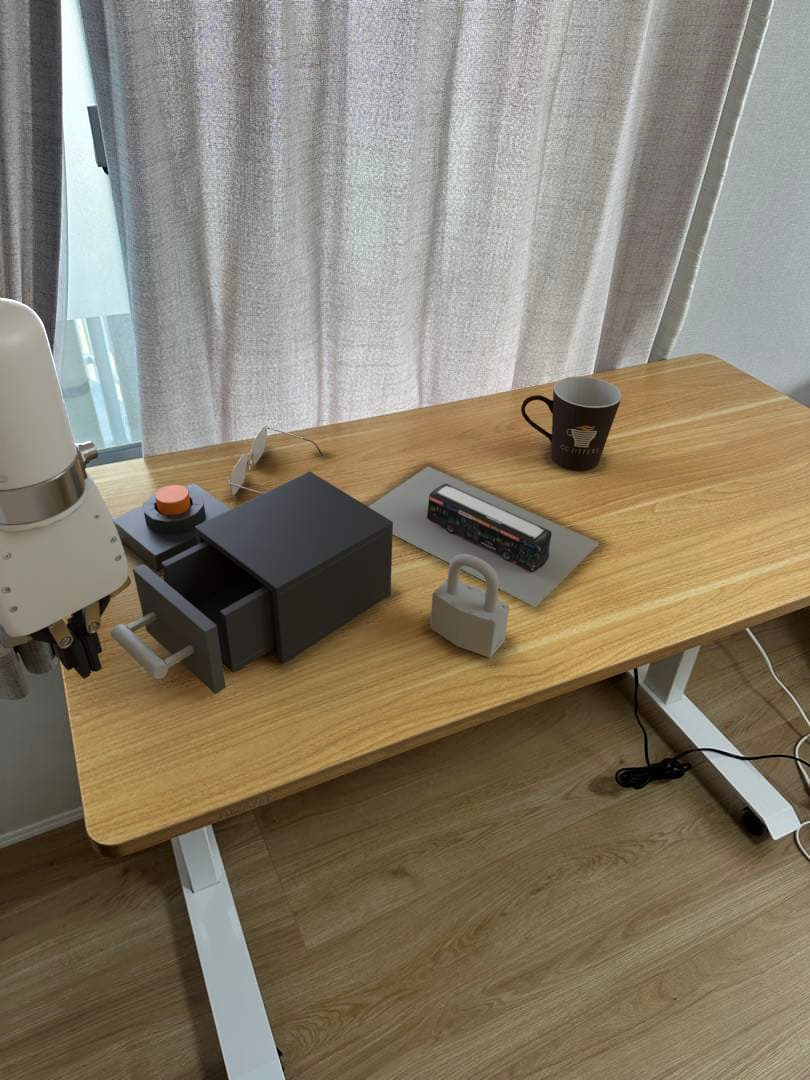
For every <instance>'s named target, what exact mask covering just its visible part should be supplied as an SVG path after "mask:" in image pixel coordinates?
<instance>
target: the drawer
mask: <svg viewBox="0 0 810 1080" xmlns="http://www.w3.org/2000/svg"><path fill="white" fill-rule="evenodd" d="M161 565H162V570H161V571H162V573H163V574H162V575H163V578H161V577H160V576H159V575H158V574H156V573H155V572H154V570H152V569H151V568H149V566H147V565H146V564H145V563H142V564H141V565H139V566H137V567H135V568H133V569H132V573H133V577H134V582H135V586H136V590H137V595H138V599H139V604H140V609H141V613H142V617H140V618H138V619H136V620H134V621H132V622H131V623H129V624H126V625H125V624H124V623H120V624H115V626H114V627H112V629H111V632H110V636H111V637H112V638H113V640H114V641H116V643H118V644H119V645H120V646H121V647H122V648H123V649H124V650H125V651H126V652H127V653H128V654H129V655H130V656H131V658H132V659H134V660H135V661H136V662H137V663H138V664H139V665H140V666H141V667H142V668H143V669H144V670H145V671H147V673H148V674H149V675H150V676H151V677H153V679H155V680H160V679H163V678H164V677H165V676H166V675H167V674H168V672H169V668H171V667H173V666H174V665H176V664H178V663H180V664H181V665H182V666H183V667H185V668H186V669H187V670H188V671H189V672H190V673H191V674H192V675H193V676H194V677H195V678H196V679H198V680H199V681H200V682H201V683H202V684H203V685H204V686H205V687H206V688H207V689H208V690H209V691H210V692H211V693H213V694H214V695H217V694H219V693H220V692H222V691H224V690H225V689H226V688H227V686H226V680H225V672H224V667H225V668H226V669H227V670H228V671H229V672H231V673H232V674H235V673H237V672H238V671H240V670H241V669H243V668H245V667H246V666H247V665H249V664H251V663H253V662H255V661H256V660H257V659H259V658H261V657H262V656H264V655H265V654H268V651H270V650H272V649H273V648H275V647H276V646H277V644H276V633H275V621H274V610H273V598H272V591H271V590H270V589H268V588H267V587H266V586H264V585H263V584H262V583H260V582H259V581H258V580H257V579H255V578H254V577H253V576H251V575H250V574H249V573H247V572H246V571H245V570H243V569H242V568H241V567H239V566H238V565H237V564H236V563H234V562H233V561H232V560H230V559H229V558H228V557H226V556H225V555H224V554H222V553H221V552H220V551H218V550H217V549H216V548H214V547H213V546H212V545H211V544H209V543H208V542H207V541H204V542H202V543H200V544H198V545H196V546H194V547H192V548H190V549H188V550H186V551H184V552H182V553H180V554H178V555H176V556H174V557H172V558H170V559H168V560H166V561H164V562H162V563H161ZM143 627H145V631H146V632H147V633H148V634H149V635H150V636H151V637H152V638H153V639H154V640H155V641H157V642H158V644H160V646H162V647H163V648H164V649H165V650H166V651H167V652H168V653H169V654H171V655H170V656H169V657H166V658H165V659H162V658H160V657H159V655H157V654H156V653H155V652H154V651H153V649H151V648H150V647H149V646H148V645H147V644H146V643H145V642H143V640H141V638H139V637H138V636H137V635H136V634H135V632H136V631H138V630H140V629H142V628H143Z"/></svg>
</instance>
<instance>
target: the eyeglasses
mask: <svg viewBox="0 0 810 1080" xmlns="http://www.w3.org/2000/svg"><path fill="white" fill-rule="evenodd" d="M268 430H271V431H274V432H279V433H282V434H285V435H287V436H292V437H296V438H299V439H302V440H304V441H307V442H311V443H312V444H313V445H314V446H315V447H316V449H317V451H318V453H319V454H320V455H321V456H324V454H323V452H322V451H321V449H320V448H319V446H318V445H317V443H316V442H314V440H311V439H308V438H305V437H301V436H298V435H295V434H292V433H289V432H285V431H283V430H280V429H276V428H274V427H270V426H267V425H264V426H263V427H262V428H261V429H260V430H259V432H257V434H256V435H255V438H254V439H253V441H252V444H251V448H250V451H249V452H248V454H247V453H244V454H243V455H242V456H240V458H239V460H238V461H237V462H236V464H235V465H234V467H233V469H232V470H231V473H230V477H229V479H228V481H227V484H228V485H229V487H230V492H231V495H232V496H234V495H236V494H237V492H238V491H239V490H240V489H243V490H247V491H250V492H254V493H256V494H259V495H262V494H264V493H265V492H261V491H258V490H254V489H251V488H249V487H245V486H242V484H243V483H244V482H245V478H246V475H247V471H251V470H252V468H253V465H255V464H256V463H257V462H258V461H259V460H260V458H262V455H263V453H264V451H265V449H266V444H267V435H268V434H267V433H268ZM250 454H251V459H249V458H248V457H249V456H250ZM248 459H249V460H248ZM247 469H248V470H247Z"/></svg>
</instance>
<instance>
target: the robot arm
mask: <svg viewBox="0 0 810 1080" xmlns="http://www.w3.org/2000/svg"><path fill="white" fill-rule="evenodd" d="M74 436H75V435H74V432H73V429H72V426H71V421H70V418H69V414H68V409H67V406H66V402H65V398H64V395H63V391H62V388H61V383H60V379H59V376H58V371H57V368H56V364H55V360H54V357H53V353H52V349H51V345H50V342H49V338H48V335H47V332H46V328H45V325H44V323H43V321H42V320H41V318H40V317H39V315H38V314H37V313H36V312H35V310H33V309H32V308H31V307H29V306H28V305H26V304H24V303H23V302H20V301H17V300H14V299H10V298H5V297H0V645H1V647H2V648H4V649H11V648H14V647H17V646H20V645H23V644H27V643H30V642H29V641H32V640H33V641H35V642H42V643H46V644H47V643H48V644H53V645H54V648H55V650H56V653H57V656H58V660H59V661H60V663H61V665H62V666H63V668H65V670H67V671H68V672H69V671H70V670H72V669H73V670H75V671H76V672H77V673H78V675H79V676H80V677H81V678H82V679H84V680H85V679H87V678H88V677H90V676H91V674H92V673H94V672H95V673H97V672H99V671H101V670H102V669H103V666H102V664H101V660H100V657H99V654H102V653H103V648H102V645H101V641H100V638H99V634H98V631H99V630H100V629H101V625H102V620H101V618H102V616H103V614H104V613H105V611H106V609H107V608H108V606H109V604H110V602H111V599H114V598H115V597H117V596H118V595H120V593H122V592H123V591H125V590H126V589H127V588H128V587H130V585H131V584H132V580H131V578H130V576H129V565H128V560H127V556H126V553H125V549H124V546H123V543H122V540H120V537H119V534H118V532H117V529H116V526H115V524H114V522H113V519H114V518H113V517H112V514H111V512H110V510H109V508H108V505H107V504H106V502H105V499H104V497H103V495H102V493H101V491H100V490H99V488H98V486H97V484H96V483H95V481H94V479H93V478H92V477H91V476H90V475H89V474H88V473H87V471H86V466H87V465H88V464H89V463H90V462H91V461H93V460H95V459H98V458H99V452H98V449H97V447H96V446H95V444H94V443H93V442H92V441H91V440H88V441H85V442H83V443H80V442H79V443H78V442H77V443H76V440H75V437H74ZM69 616H70V617H69ZM66 617H69V618H66ZM65 618H66V621H67V623H66V622H65V620H64V619H65Z"/></svg>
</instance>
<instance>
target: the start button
mask: <svg viewBox="0 0 810 1080" xmlns="http://www.w3.org/2000/svg"><path fill="white" fill-rule="evenodd" d="M185 487H186V486H184V485H180V484H170V485H164V486H163V487H160V488H159V489H158V490H157V491H156V492H155V493H156V495H155V498H156V503H157V508H158V511H159V512H160V513H162V514H165V515H176V514H181V513H183V512H186V511H187V510H188V509H189V508H190V498H189V492H188V490H187V488H185Z"/></svg>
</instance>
